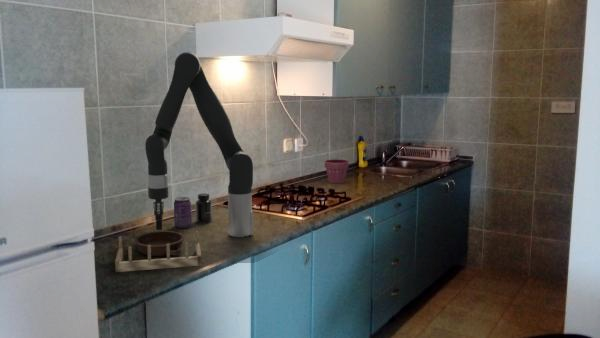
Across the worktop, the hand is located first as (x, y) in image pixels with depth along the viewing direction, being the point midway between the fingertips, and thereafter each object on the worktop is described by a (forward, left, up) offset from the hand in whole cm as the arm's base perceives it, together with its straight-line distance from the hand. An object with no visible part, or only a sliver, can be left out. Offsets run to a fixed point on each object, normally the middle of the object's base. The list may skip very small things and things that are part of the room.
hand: (159, 229), depth 205 cm
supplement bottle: (-18, -21, -4) cm, 28 cm away
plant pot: (-100, -89, -4) cm, 134 cm away
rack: (0, +25, -4) cm, 25 cm away
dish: (0, +14, -4) cm, 15 cm away
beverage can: (-9, -15, -4) cm, 18 cm away
